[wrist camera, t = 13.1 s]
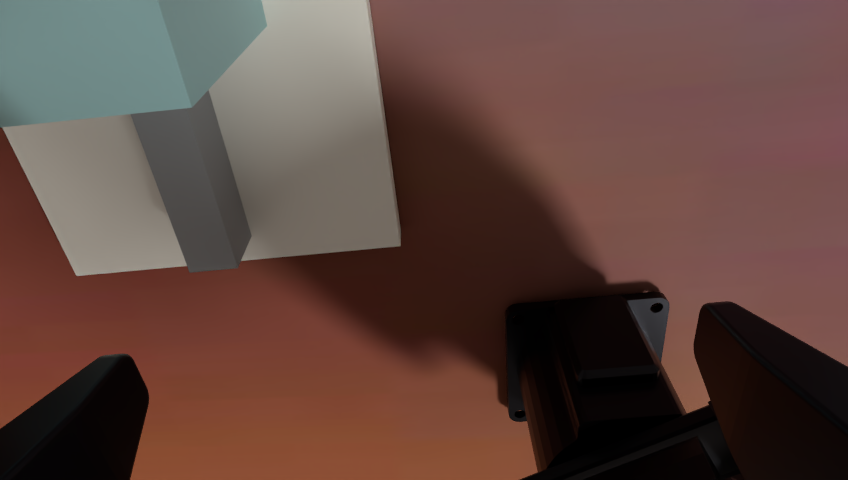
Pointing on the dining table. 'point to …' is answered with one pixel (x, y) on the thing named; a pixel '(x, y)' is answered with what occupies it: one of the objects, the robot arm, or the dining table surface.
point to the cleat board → (232, 158)
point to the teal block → (116, 55)
